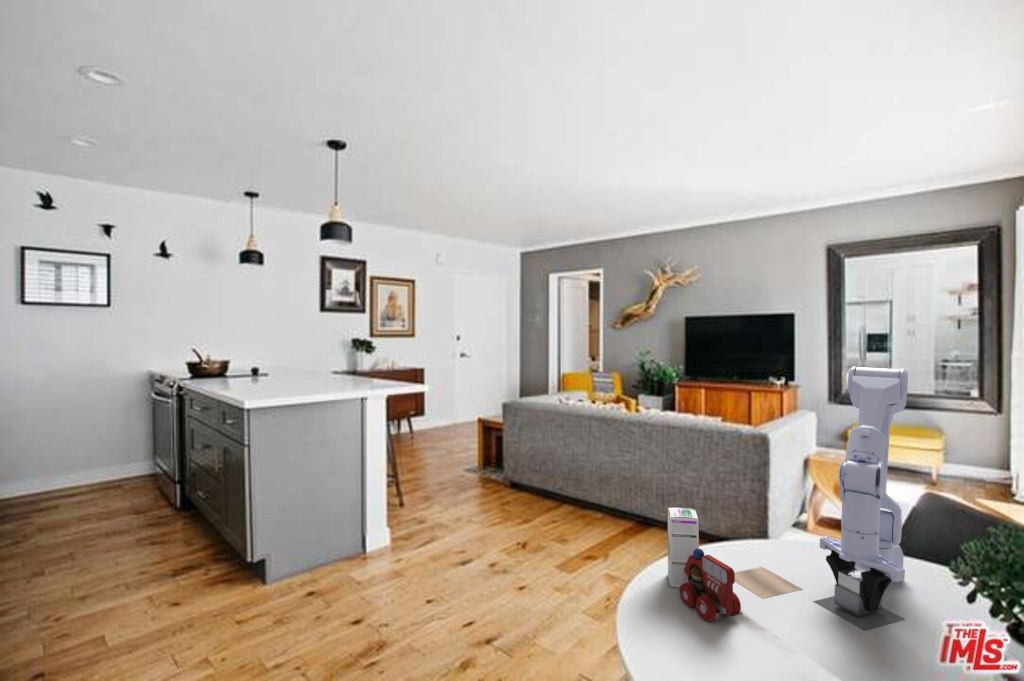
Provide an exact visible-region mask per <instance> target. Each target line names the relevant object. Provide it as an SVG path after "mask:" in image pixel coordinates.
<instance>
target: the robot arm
mask: <svg viewBox="0 0 1024 681" xmlns="http://www.w3.org/2000/svg"><path fill="white" fill-rule="evenodd" d="M908 373H909V372H908V371H907V370H906V369H905V368H881V367H880V368H878V367H862V366H861V367H860V366H857V365H856V366H855V365H854V366H852V367H851V368H850V369H849V372H848V378H847V389H848V393H849V397H850V398H849V399H850V401H851V403H852V406H853V407H854V408H856V409H858V425H857V426H858V427H855V428H853V429H851V430H850V432H849V438H848V443H847V447H846V448H847V449H846V454H845V460H844V461H841V462H840V465H839V470H838V486H839V492H840V495H839V496H840V497H839V498H840V501H841V502H842V503H841V517H840V519H841V520H840V525H841V526H840V527H841V528H840V529H841V532H840V533H841V536H840V540H839V539H836V538H833V537H830V536H823V537H819V548H820V549H823V550H829V551H830V554H828V555H826V556H825V560H826V562H827V564H828V565H829V567H830V569H831V572H832V574H833V576H834V579H835V580H834V581H835V582H836V584H838V574H839V571H842V570H847V569H851V568H856V567H860V568H862V569H864V570H866V571H865V572H861V576H862V579H863V582H864V587H865V606H866V610H867V611H869V612H872V611H875V610H878V607H879V604H880V601H881V598H882V599H883V596H884V594H885V592H886V590H887V589H888V587H889V586H890V585H891V584H892V583H900V582H903V581H905V576H906V575H905V574H906V573H905V572H906V571H905V569H904V559H905V558H904V552H903V550H902V548H901V546H900V543H901V541H902V532H903V531H902V529H903V517H902V508H901V506H900V504H899V503H898V502H897V501H895V499H894V498H892V497H891V496H890V495H888V494H887V483H888V482H887V481H888V466H889V450H890V448H889V446H890V433H891V432H890V430H891V425H892V424H891V423H892V420H893V418H894V415H895V414H898V413H901V412H904V411H905V407H906V406H907V400H908V399H907V397H908V389H909V388H908V387H909V375H908ZM883 509H886V510H883ZM887 510H888V511H887Z"/></svg>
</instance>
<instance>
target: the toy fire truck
mask: <svg viewBox="0 0 1024 681" xmlns="http://www.w3.org/2000/svg"><path fill="white" fill-rule="evenodd" d="M734 573H735V571H734V569H733V568H732V567H731V566H729V565H728V564H726V563H724V562H722V561H721V560H719V559H717V558H715V557H714V556H712V555H710V554H705V552H704V550H703V549H702V548H700V547H699V548H697V549H695V550H694V551H693V555H690V556H689V558H688V561H687V563H686V566H685V568H684V584H682V585H681V586H680V588H679V596H680V599H681V602H683V604H684V605H685V606H687V607H689V608H690V607H694V606H695V608H696V611H697V613H698V615H699V617H700V618H701V619H702V620H703V621H704V622H705V621H706V622H709V621H710V622H711V621H713V620H715V619H716V618H717V614H721V615H722V616H724V617H728V616H731V617H732V616H737V615H739V614H740V613H741V610H742V609H741V608H742V606H741V604H742V603H741V602H740V601H741V600H740V598H739V597H738V595H737V594H736V593H735V592H734V588H733V587H734V584H735V583H736V582H735V574H734Z"/></svg>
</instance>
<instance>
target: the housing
mask: <svg viewBox="0 0 1024 681" xmlns="http://www.w3.org/2000/svg"><path fill="white" fill-rule="evenodd" d="M865 571H866V570H864V569H862V568H860V567H856V568H851V569H847V570H842V571H839V574H838V584H837V583H836V584H834V596H835V601H834V604H836V605H838V606H840V607H842V608H844V609H845V610H847V611H849V612H851V613H853V614H854V615H856V616H861V615H865V614H869V613H872V612H876V611H880V610H882V607H883V597H882V598H881V601H880V604H879V607H878V610H875V611H872V612H869V611H867V610H866V606H865V587H864V582H863V579H862V576H861V572H865Z"/></svg>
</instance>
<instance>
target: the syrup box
mask: <svg viewBox="0 0 1024 681" xmlns="http://www.w3.org/2000/svg"><path fill="white" fill-rule="evenodd" d="M699 520H700V519H699V518H698V514H697V512H696V509H695V508H690V507H668V508H667V577H668V581H669V582H668V583H669V586H670V587H673V588H678V589H680V586H681V585H682V584H684V568H685V566H686V563H687V561H688V558H689V556H690V555H693V551H694V550H695V549H697V548H699V549H700V543H699V542H700V539H699V538H700V536H699V532H700V531H699V528H700V526H699V524H700V523H699Z"/></svg>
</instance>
